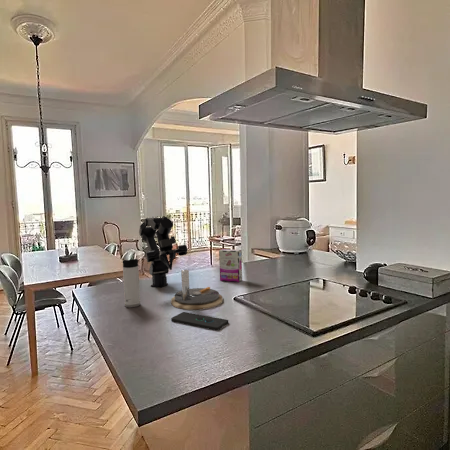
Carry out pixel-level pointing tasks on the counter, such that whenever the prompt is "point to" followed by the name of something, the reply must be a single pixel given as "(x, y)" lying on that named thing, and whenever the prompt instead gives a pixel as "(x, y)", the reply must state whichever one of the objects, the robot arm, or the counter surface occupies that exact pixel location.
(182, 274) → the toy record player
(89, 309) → the counter surface
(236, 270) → the candy bar box
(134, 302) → the travel mug
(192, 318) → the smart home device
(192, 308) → the oak stand
